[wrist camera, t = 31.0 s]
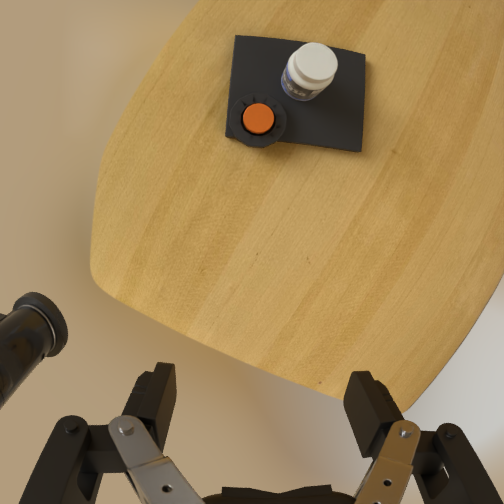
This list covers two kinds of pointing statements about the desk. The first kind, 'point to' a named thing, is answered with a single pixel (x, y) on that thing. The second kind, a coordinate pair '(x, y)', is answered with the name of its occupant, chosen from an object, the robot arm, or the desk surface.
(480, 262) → the desk surface
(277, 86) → the black flat block
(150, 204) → the desk surface
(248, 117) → the button
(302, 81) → the pill bottle
